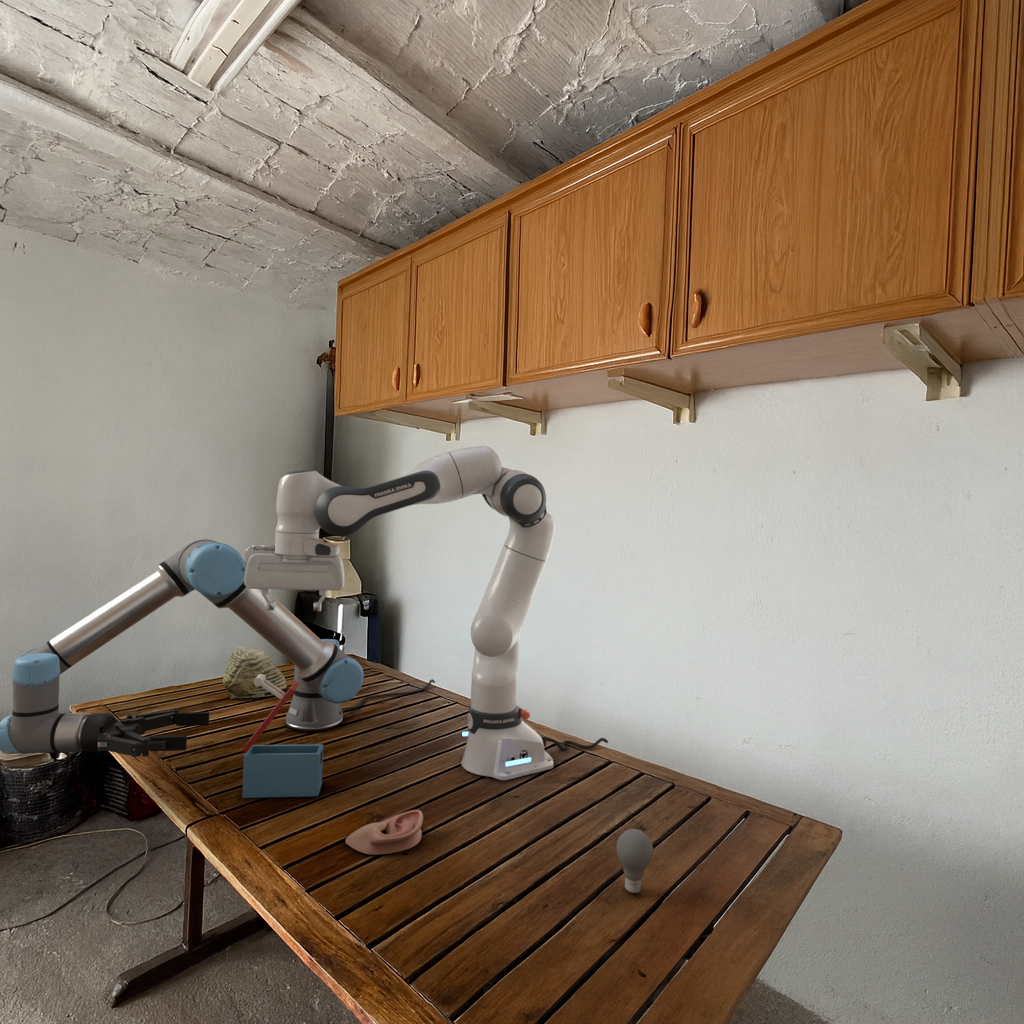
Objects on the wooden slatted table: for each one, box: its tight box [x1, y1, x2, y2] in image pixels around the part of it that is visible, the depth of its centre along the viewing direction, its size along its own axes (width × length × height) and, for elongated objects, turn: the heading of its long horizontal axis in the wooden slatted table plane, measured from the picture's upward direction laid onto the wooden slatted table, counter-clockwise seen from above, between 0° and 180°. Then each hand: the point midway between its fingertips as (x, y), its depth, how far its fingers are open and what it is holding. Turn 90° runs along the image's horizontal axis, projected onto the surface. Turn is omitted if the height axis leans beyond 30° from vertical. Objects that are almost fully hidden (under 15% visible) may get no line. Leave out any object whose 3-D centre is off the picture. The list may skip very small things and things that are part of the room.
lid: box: [241, 674, 299, 754], centre depth 134 cm, size 16×5×8 cm
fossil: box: [222, 646, 288, 699], centre depth 198 cm, size 9×18×15 cm, turn 132°
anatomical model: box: [344, 809, 424, 856], centre depth 118 cm, size 13×4×12 cm
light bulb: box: [615, 828, 654, 894], centre depth 106 cm, size 6×6×10 cm
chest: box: [241, 743, 324, 799], centre depth 135 cm, size 15×5×9 cm, turn 98°
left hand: (198, 730), depth 133 cm, fingers open, 13 cm apart
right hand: (294, 610), depth 135 cm, fingers open, 8 cm apart
